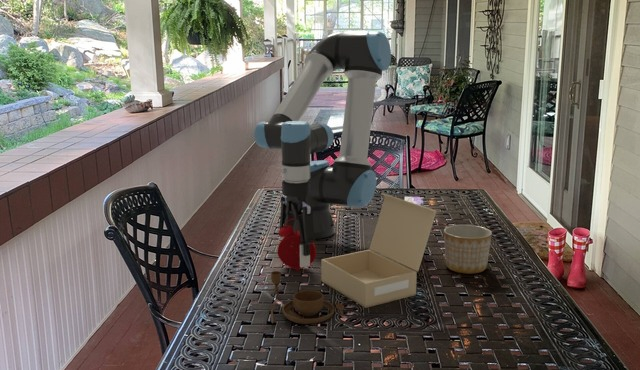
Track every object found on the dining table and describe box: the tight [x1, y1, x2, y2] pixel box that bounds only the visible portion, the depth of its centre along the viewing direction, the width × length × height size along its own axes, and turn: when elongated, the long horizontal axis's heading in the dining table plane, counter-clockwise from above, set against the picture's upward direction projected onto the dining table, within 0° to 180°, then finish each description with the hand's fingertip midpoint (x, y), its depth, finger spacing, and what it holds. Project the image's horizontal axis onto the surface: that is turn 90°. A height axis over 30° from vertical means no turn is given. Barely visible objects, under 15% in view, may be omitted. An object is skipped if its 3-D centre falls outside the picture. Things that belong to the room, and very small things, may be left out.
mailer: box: [320, 249, 418, 309], centre depth 161 cm, size 20×15×6 cm
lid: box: [368, 192, 437, 272], centre depth 164 cm, size 20×15×2 cm
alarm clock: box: [277, 219, 317, 271], centre depth 173 cm, size 10×6×15 cm, turn 85°
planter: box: [443, 224, 493, 275], centre depth 175 cm, size 13×13×10 cm
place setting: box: [268, 270, 345, 325], centre depth 151 cm, size 18×20×6 cm
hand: (296, 261), depth 175 cm, fingers closed on alarm clock, 8 cm apart
